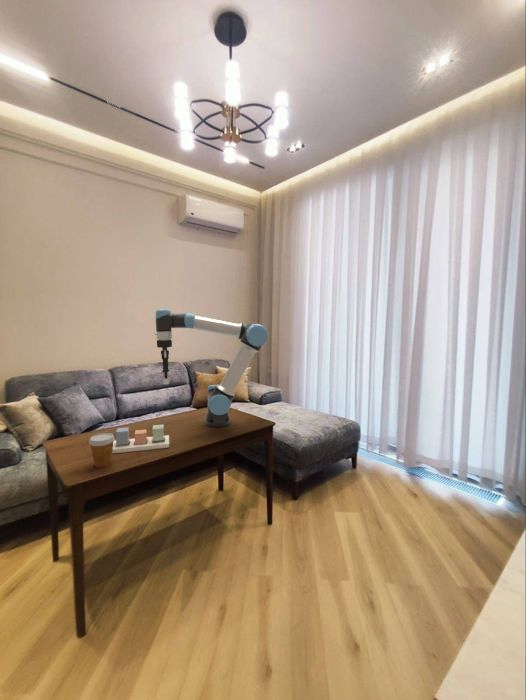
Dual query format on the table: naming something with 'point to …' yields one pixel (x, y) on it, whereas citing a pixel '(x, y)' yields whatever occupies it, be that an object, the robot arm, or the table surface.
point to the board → (148, 446)
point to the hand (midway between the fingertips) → (166, 384)
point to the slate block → (122, 435)
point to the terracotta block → (140, 437)
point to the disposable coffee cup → (102, 449)
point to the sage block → (158, 432)
